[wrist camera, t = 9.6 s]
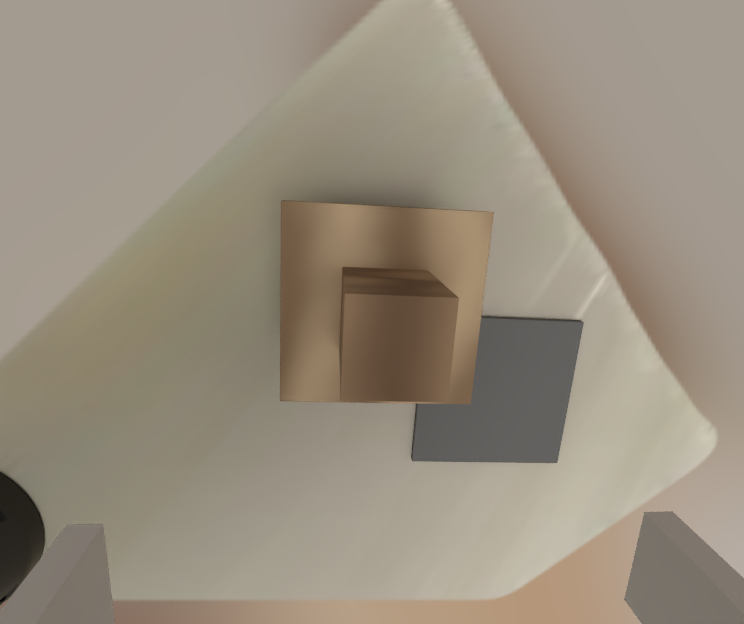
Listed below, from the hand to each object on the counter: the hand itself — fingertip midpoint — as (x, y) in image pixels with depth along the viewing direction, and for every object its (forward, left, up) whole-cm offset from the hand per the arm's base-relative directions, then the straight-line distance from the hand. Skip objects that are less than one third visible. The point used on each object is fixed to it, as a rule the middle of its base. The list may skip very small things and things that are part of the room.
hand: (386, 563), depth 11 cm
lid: (+1, +2, -18) cm, 18 cm away
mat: (+13, -8, -29) cm, 33 cm away
